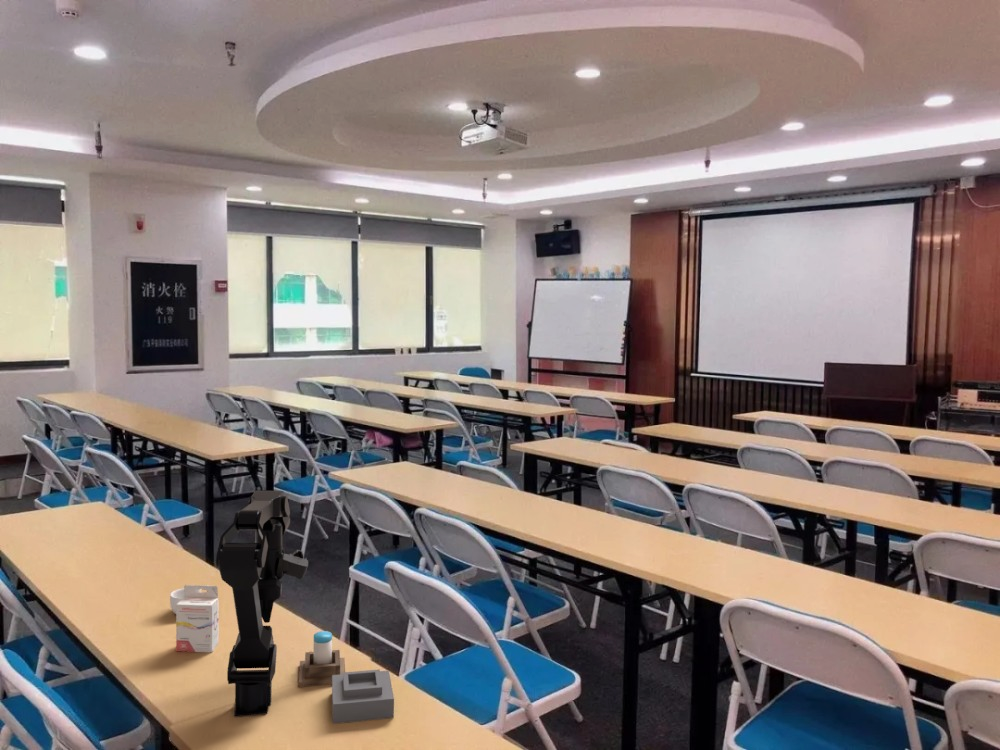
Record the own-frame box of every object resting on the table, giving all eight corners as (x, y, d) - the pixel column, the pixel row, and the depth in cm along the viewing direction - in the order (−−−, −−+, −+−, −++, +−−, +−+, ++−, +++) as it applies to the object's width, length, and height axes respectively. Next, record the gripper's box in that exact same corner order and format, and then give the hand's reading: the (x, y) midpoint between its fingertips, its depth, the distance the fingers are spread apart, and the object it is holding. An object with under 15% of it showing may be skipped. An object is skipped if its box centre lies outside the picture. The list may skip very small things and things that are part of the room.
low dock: (298, 686, 161) (298, 671, 161) (300, 665, 171) (300, 650, 170) (345, 682, 163) (345, 667, 163) (344, 661, 173) (344, 647, 173)
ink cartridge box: (175, 652, 175) (174, 592, 174) (183, 643, 180) (183, 584, 179) (212, 653, 175) (211, 592, 174) (219, 643, 180) (219, 584, 179)
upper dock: (332, 723, 147) (333, 697, 147) (331, 693, 159) (332, 668, 158) (393, 717, 150) (394, 691, 150) (388, 688, 162) (389, 663, 161)
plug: (323, 675, 164) (323, 640, 164) (309, 670, 166) (309, 636, 165) (335, 667, 168) (335, 633, 167) (321, 663, 170) (321, 629, 169)
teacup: (207, 612, 198) (207, 592, 198) (180, 621, 192) (179, 600, 192) (187, 602, 204) (187, 583, 204) (160, 610, 198) (160, 591, 198)
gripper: (305, 558, 158) (304, 629, 160) (307, 531, 176) (306, 595, 178) (250, 561, 156) (250, 632, 157) (258, 533, 174) (258, 598, 175)
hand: (268, 613), depth 167 cm, fingers open, 9 cm apart
